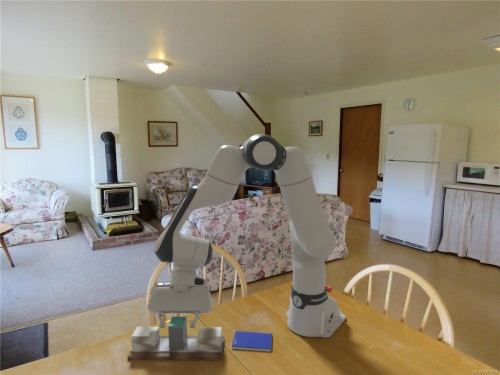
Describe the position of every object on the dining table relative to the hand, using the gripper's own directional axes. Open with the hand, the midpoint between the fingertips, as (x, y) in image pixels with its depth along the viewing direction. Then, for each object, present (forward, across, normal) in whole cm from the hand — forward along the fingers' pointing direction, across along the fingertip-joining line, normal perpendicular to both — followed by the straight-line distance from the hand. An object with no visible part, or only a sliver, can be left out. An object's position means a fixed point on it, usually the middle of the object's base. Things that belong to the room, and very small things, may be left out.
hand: (177, 327), depth 97 cm
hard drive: (+3, +23, +9) cm, 25 cm away
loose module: (+4, 0, +4) cm, 6 cm away
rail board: (+5, 0, +6) cm, 7 cm away
